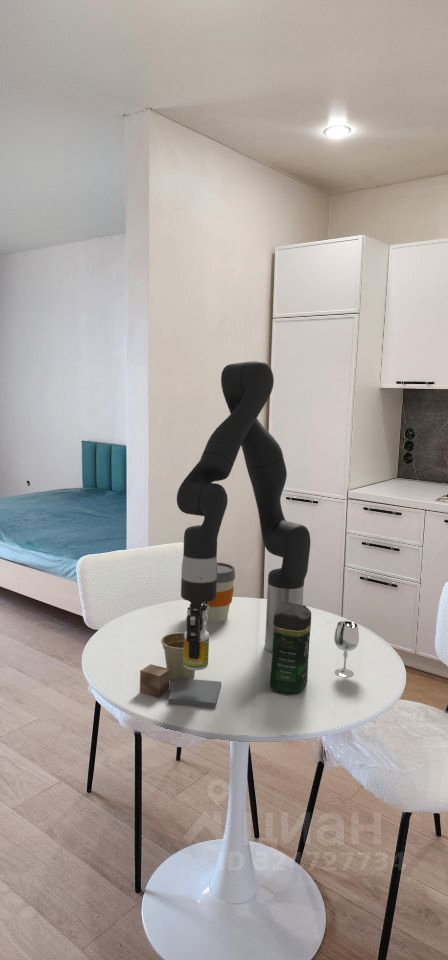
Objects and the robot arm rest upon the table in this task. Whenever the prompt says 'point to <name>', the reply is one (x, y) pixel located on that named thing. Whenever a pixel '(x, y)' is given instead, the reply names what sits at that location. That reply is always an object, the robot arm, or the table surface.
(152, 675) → the walnut block
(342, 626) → the wineglass
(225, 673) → the table surface
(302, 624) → the coffee jar
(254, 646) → the table surface
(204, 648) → the supplement bottle
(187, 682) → the coaster
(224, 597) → the reusable coffee cup
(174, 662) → the flower pot
